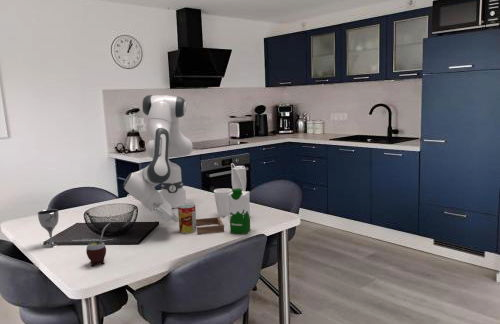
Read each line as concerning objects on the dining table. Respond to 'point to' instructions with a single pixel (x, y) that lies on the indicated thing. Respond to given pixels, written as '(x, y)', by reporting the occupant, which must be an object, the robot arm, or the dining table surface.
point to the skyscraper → (239, 177)
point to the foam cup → (222, 201)
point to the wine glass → (49, 223)
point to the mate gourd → (97, 251)
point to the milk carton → (239, 211)
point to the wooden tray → (209, 228)
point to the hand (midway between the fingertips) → (177, 220)
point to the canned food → (187, 218)
